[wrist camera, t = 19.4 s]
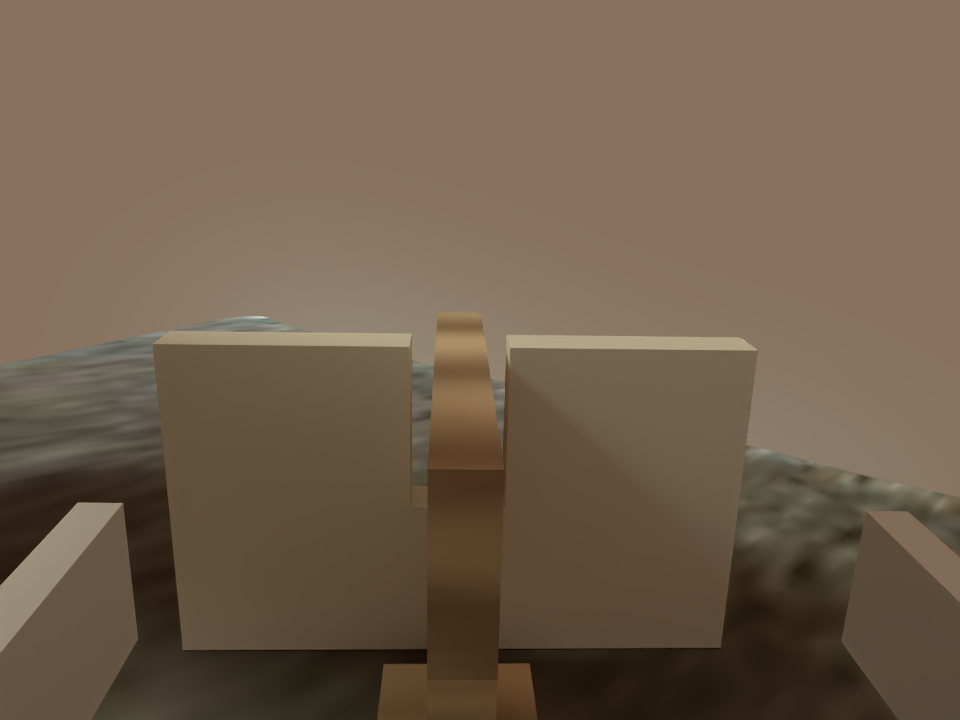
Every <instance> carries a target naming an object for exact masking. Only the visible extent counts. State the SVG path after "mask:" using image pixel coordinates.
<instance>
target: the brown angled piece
mask: <svg viewBox="0 0 960 720" xmlns="http://www.w3.org/2000/svg"><path fill="white" fill-rule="evenodd" d="M437 317H438V318H437V332H436V347H435V363H434V378H433V394H432V409H431V425H430V440H429V456H428V512H427V664H384V667H383V675H382V683H381V691H380V700H379V708H378V716H377V720H538V718H537V711H536V704H535V698H534V691H533V684H532V677H531V670H530V663H510V664H498V652H499V622H500V591H501V561H502V531H503V500H504V463H503V457H502V450H501V443H500V437H499V430H498V424H497V417H496V411H495V404H494V398H493V391H492V385H491V378H490V371H489V365H488V358H487V352H486V345H485V339H484V332H483V326H482V319H481V314H480V313H438V316H437Z"/></svg>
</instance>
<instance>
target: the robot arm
mask: <svg viewBox="0 0 960 720" xmlns="http://www.w3.org/2000/svg"><path fill="white" fill-rule="evenodd" d="M137 640H138V632H137V623H136V614H135V606H134V597H133V588H132V579H131V570H130V561H129V552H128V543H127V534H126V525H125V516H124V507H123V503H77V504H76V505H75V506H74V507H73V508H72V509H71V510H70V511H69V513H68V514H67V515H66V516H65V517H64V518H63V519H62V520H61V521H60V522H59V523H58V524H57V525H56V526H55V528H54V529H53V530H52V531H51V532H50V533H49V534H48V535H47V536H46V537H45V538H44V539H43V540H42V541H41V543H40V544H39V545H38V546H37V547H36V548H35V549H34V550H33V551H32V552H31V553H30V554H29V555H28V556H27V558H26V559H25V560H24V561H23V562H22V563H21V564H20V565H19V566H18V567H17V568H16V569H15V570H14V571H13V573H12V574H11V575H10V576H9V577H8V578H7V579H6V580H5V581H4V582H3V583H2V584H1V585H0V720H91V719H92V717H93V716H94V714H95V712H96V711H97V709H98V707H99V705H100V704H101V702H102V700H103V699H104V697H105V695H106V693H107V692H108V690H109V688H110V686H111V685H112V683H113V681H114V680H115V678H116V676H117V674H118V673H119V671H120V669H121V668H122V666H123V664H124V662H125V661H126V659H127V657H128V656H129V654H130V652H131V650H132V649H133V647H134V645H135V644H136V642H137ZM841 642H842V643H843V645H844V646H845V647H846V649H847V650H848V652H849V653H850V654H851V656H852V657H853V658H854V660H855V661H856V663H857V664H858V665H859V667H860V668H861V669H862V671H863V672H864V674H865V675H866V676H867V678H868V679H869V680H870V682H871V683H872V684H873V686H874V687H875V689H876V690H877V691H878V693H879V694H880V695H881V697H882V698H883V700H884V701H885V702H886V704H887V705H888V706H889V708H890V709H891V711H892V712H893V713H894V715H895V716H896V717H897V719H898V720H960V557H958V556H957V555H956V554H955V553H954V552H953V551H952V550H951V549H949V548H948V547H947V546H946V545H945V544H944V543H943V542H942V541H940V540H939V539H938V538H937V537H936V536H935V535H934V534H933V533H931V532H930V531H929V530H928V529H927V528H926V527H925V526H924V525H922V524H921V523H920V522H919V521H918V520H917V519H916V518H915V517H913V516H912V515H911V514H910V513H909V512H903V511H866V515H865V520H864V525H863V531H862V536H861V541H860V546H859V551H858V556H857V562H856V567H855V572H854V577H853V582H852V588H851V593H850V598H849V603H848V608H847V613H846V619H845V624H844V629H843V634H842V639H841Z"/></svg>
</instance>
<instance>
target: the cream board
mask: <svg viewBox="0 0 960 720" xmlns="http://www.w3.org/2000/svg"><path fill="white" fill-rule="evenodd" d="M153 351H154V361H155V371H156V381H157V392H158V402H159V412H160V422H161V432H162V442H163V453H164V463H165V473H166V483H167V493H168V504H169V514H170V524H171V534H172V544H173V554H174V565H175V575H176V585H177V595H178V605H179V616H180V626H181V636H182V646H183V650H336V649H427V512H428V486H412V334H384V333H382V334H381V333H298V332H210V331H169V332H168V333H167V334H165V335H164V336H163V337H161V338H160V339H159V340H157V341H156V342H155V343H154V344H153ZM757 353H758V350H756V349H755V348H754V347H752V346H751V345H750V344H749V343H747V342H746V341H745V340H743V339H742V338H733V337H732V338H731V337H730V338H729V337H646V336H559V335H558V336H557V335H550V336H549V335H507V346H506V377H505V408H504V439H503V463H504V500H503V531H502V561H501V591H500V622H499V649H558V648H721V641H722V633H723V625H724V617H725V609H726V601H727V593H728V585H729V577H730V569H731V561H732V553H733V545H734V537H735V529H736V521H737V513H738V505H739V497H740V489H741V481H742V473H743V465H744V457H745V449H746V441H747V433H748V425H749V417H750V409H751V400H752V393H753V385H754V377H755V369H756V361H757Z"/></svg>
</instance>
